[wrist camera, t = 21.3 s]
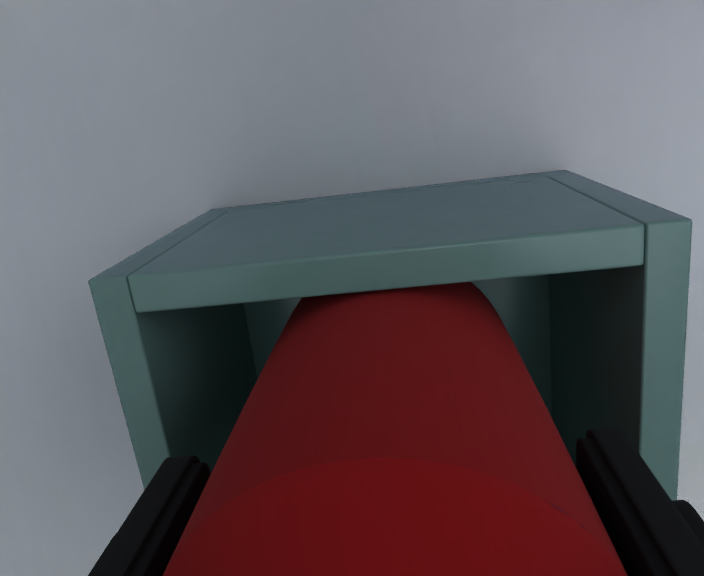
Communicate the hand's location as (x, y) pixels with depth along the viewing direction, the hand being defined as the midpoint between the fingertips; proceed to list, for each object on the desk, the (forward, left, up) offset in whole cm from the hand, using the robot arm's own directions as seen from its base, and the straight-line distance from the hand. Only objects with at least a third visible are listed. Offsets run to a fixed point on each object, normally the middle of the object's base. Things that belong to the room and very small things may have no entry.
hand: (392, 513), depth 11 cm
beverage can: (0, 0, -7) cm, 7 cm away
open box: (0, -3, -12) cm, 12 cm away
